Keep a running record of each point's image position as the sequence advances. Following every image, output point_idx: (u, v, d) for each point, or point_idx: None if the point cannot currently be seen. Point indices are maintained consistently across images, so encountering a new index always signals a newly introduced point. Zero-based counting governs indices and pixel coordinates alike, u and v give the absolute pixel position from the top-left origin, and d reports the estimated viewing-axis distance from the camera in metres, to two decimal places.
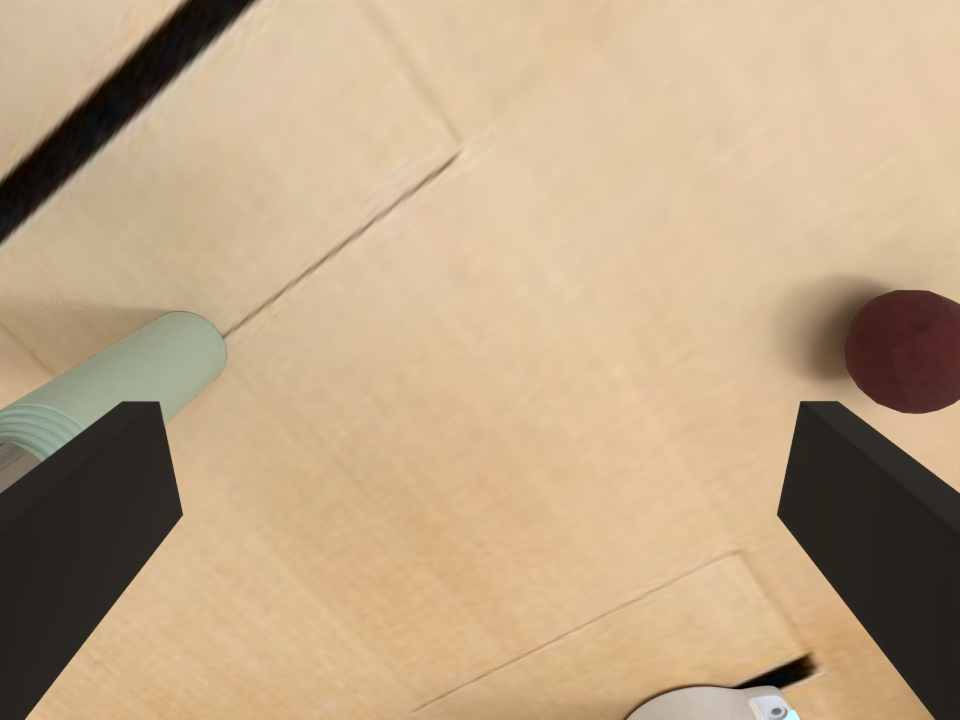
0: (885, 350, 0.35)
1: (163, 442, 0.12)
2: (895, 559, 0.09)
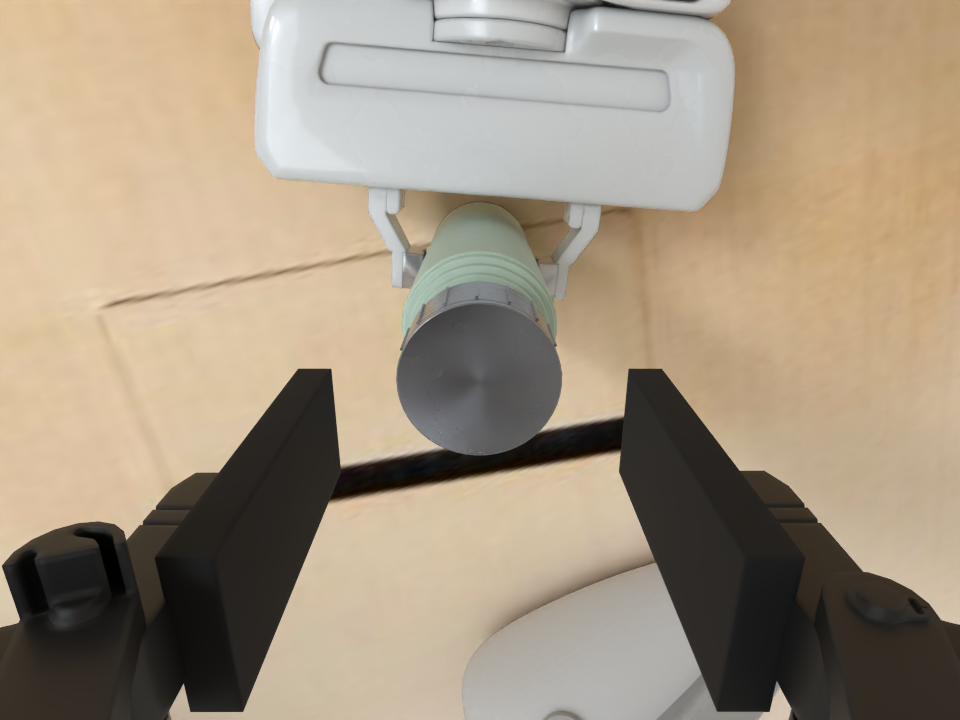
0: None
1: (332, 405, 0.14)
2: (666, 495, 0.11)
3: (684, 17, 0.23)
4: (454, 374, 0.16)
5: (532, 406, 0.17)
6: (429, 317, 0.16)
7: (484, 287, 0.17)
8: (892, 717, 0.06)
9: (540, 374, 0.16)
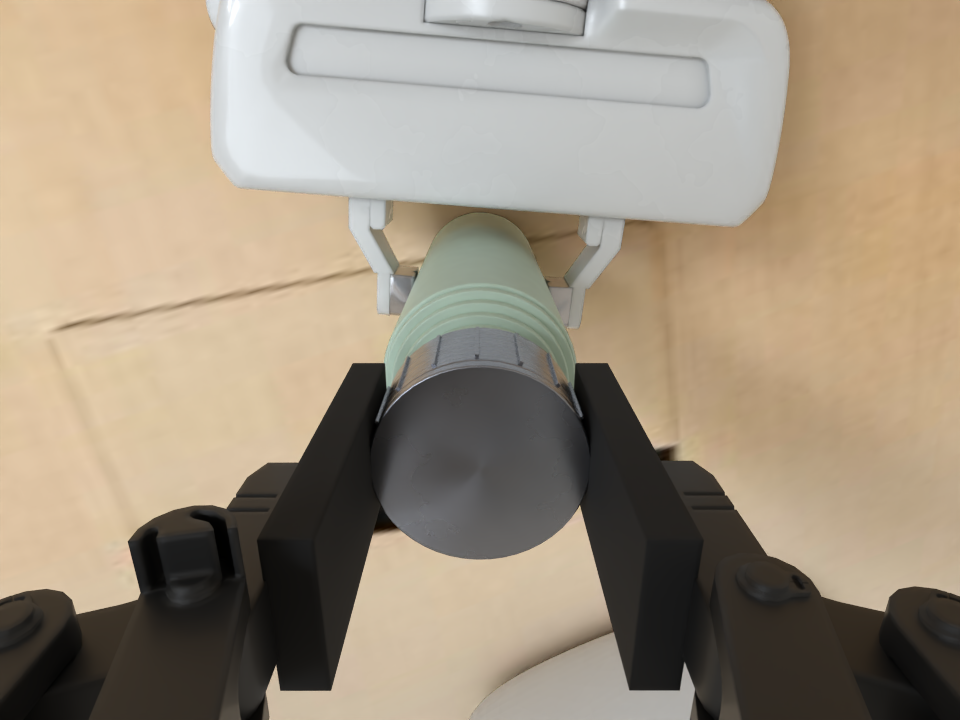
0: None
1: None
2: (598, 484, 0.11)
3: None
4: (446, 457, 0.12)
5: (551, 499, 0.12)
6: (412, 384, 0.12)
7: (487, 338, 0.13)
8: (775, 693, 0.06)
9: (562, 458, 0.12)
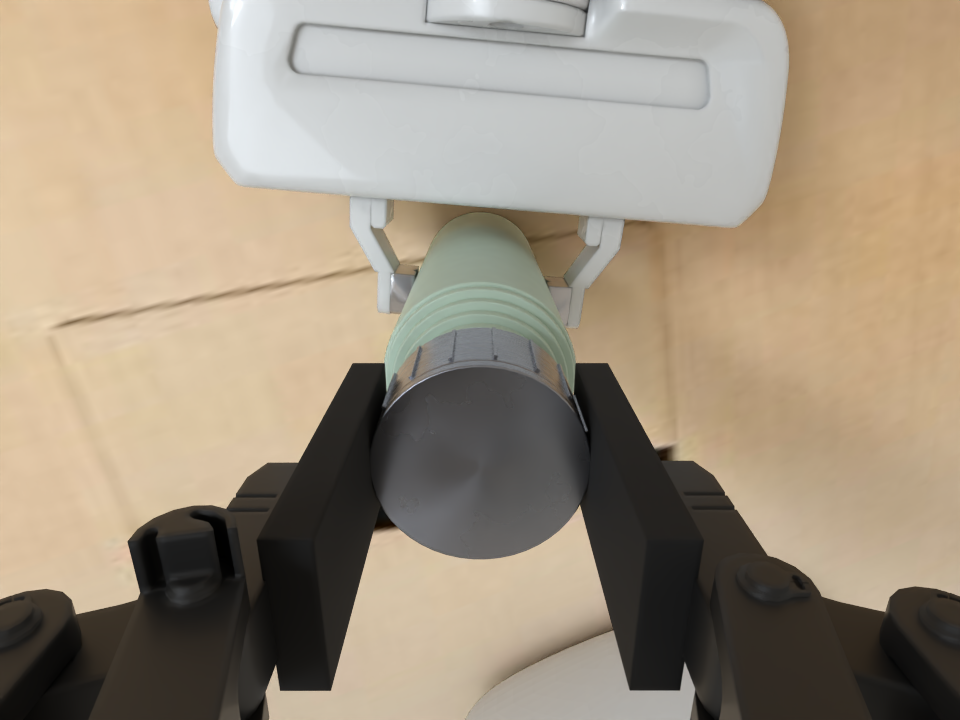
0: None
1: None
2: (598, 484, 0.11)
3: None
4: (475, 499, 0.12)
5: (497, 398, 0.12)
6: (410, 536, 0.13)
7: None
8: (775, 693, 0.06)
9: (447, 399, 0.12)
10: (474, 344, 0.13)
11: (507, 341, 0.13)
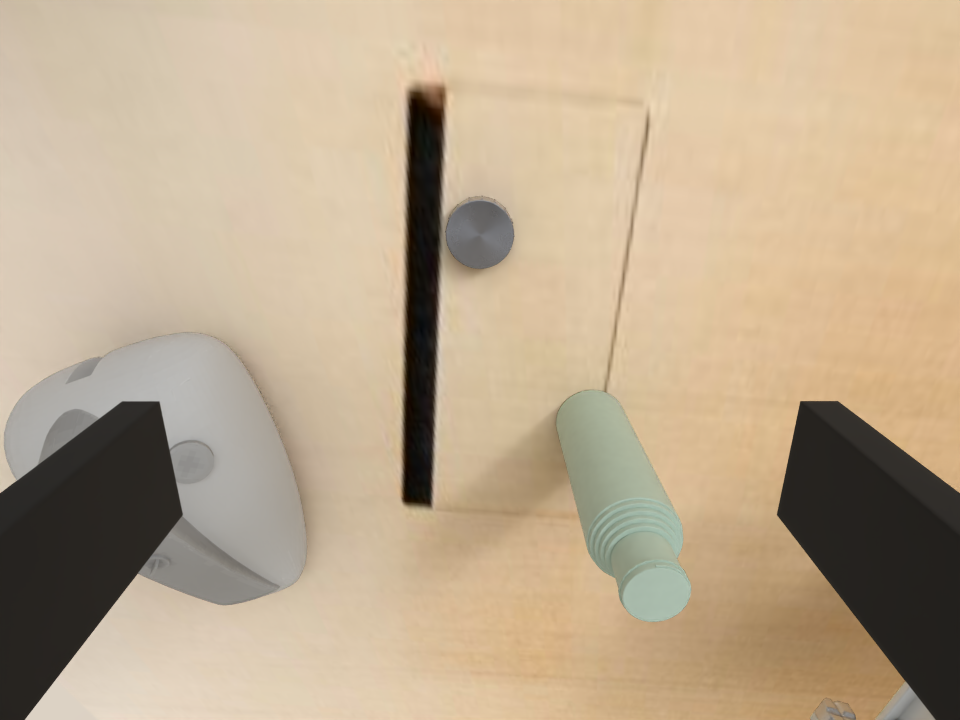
0: None
1: (163, 442, 0.12)
2: (895, 559, 0.09)
3: None
4: (476, 224, 0.40)
5: (485, 258, 0.41)
6: (488, 201, 0.39)
7: (506, 211, 0.41)
8: None
9: (498, 251, 0.40)
10: None
11: None
